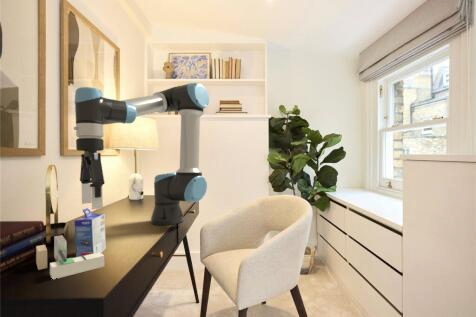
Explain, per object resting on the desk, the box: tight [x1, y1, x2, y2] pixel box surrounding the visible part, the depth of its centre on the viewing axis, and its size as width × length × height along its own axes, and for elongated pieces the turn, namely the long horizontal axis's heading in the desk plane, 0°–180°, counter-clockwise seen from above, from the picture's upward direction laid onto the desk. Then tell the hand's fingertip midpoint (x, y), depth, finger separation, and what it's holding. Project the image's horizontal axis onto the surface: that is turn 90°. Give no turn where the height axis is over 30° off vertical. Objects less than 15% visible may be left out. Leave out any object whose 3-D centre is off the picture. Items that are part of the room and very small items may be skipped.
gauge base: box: [35, 244, 105, 280], centre depth 75 cm, size 14×16×5 cm
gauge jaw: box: [53, 234, 68, 262], centre depth 75 cm, size 2×17×6 cm, turn 41°
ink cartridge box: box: [74, 207, 107, 258], centre depth 84 cm, size 10×6×14 cm, turn 7°
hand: (91, 205), depth 84 cm, fingers open, 13 cm apart
